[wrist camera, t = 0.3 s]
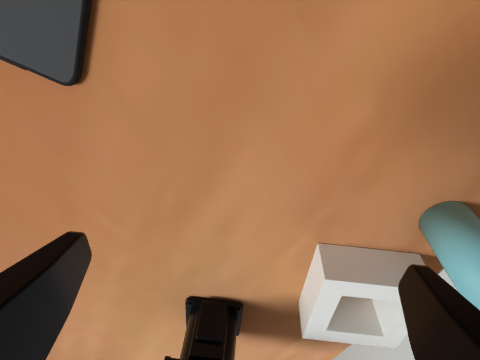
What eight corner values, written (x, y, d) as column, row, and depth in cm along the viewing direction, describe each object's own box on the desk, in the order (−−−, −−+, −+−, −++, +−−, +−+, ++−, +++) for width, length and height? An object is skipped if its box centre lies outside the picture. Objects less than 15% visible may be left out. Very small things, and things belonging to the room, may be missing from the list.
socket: (382, 311, 33) (396, 348, 29) (298, 301, 33) (302, 338, 29) (419, 253, 27) (440, 291, 24) (317, 243, 27) (325, 279, 24)
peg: (456, 238, 26) (521, 327, 19) (410, 234, 26) (460, 321, 19) (480, 203, 24) (564, 290, 17) (431, 198, 24) (495, 283, 17)
